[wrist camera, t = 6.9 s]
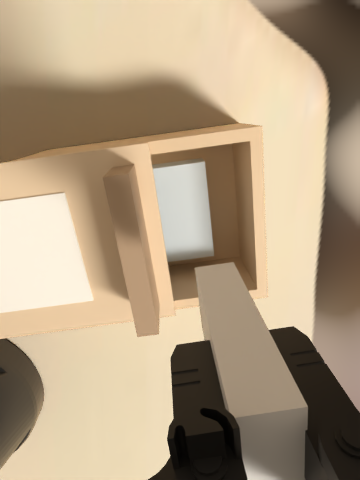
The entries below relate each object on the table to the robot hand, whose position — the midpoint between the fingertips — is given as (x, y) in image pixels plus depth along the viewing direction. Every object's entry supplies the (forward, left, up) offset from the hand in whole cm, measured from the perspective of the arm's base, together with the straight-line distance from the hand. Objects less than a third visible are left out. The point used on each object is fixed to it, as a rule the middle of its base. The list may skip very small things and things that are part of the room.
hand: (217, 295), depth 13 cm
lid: (-9, 0, -8) cm, 12 cm away
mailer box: (-3, 0, -14) cm, 14 cm away
